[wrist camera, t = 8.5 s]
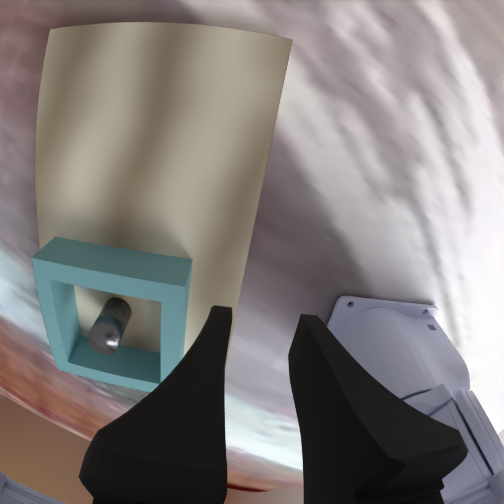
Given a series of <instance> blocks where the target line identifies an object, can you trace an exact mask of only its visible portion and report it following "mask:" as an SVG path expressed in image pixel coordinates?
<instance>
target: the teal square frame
mask: <svg viewBox="0 0 504 504" xmlns="http://www.w3.org/2000/svg"><path fill="white" fill-rule="evenodd" d="M192 262H193V260H192V259H186V258H179V257H173V256H167V255H161V254H154V253H148V252H142V251H136V250H130V249H124V248H118V247H112V246H106V245H100V244H94V243H88V242H82V241H76V240H70V239H65V238H59V237H54V238H53V239H52V240H51V241H50V242H48V243H47V244H46V245H45V246H44V247H43V248H42V249H41V250H40V251H38V252H37V253H36V254H35V255H34V256H33V257H32V264H33V271H34V277H35V282H36V288H37V293H38V298H39V302H40V307H41V311H42V316H43V320H44V324H45V328H46V332H47V336H48V339H49V343H50V347H51V350H52V353H53V357H54V360H55V363H56V366H57V369H58V370H62V371H65V372H68V373H72V374H75V375H79V376H82V377H86V378H89V379H93V380H97V381H101V382H105V383H109V384H113V385H117V386H122V387H126V388H131V389H135V390H140V391H145V392H150V393H151V392H152V391H153V390H154V389H155V388H156V387H157V386H158V385H159V384H160V383H161V382H162V381H163V380H164V379H165V378H166V377H167V376H168V375H169V374H170V373H171V371H172V370H173V369H174V368H175V367H176V366H177V365H178V363H179V362H180V361H181V360H182V358H183V357H184V346H185V333H186V321H187V310H188V300H189V289H190V280H191V270H192ZM74 285H77V286H81V287H86V288H91V289H96V290H101V291H106V292H111V293H116V294H121V295H126V296H131V297H137V298H142V299H148V300H153V301H159V302H162V306H161V353H158V352H153V351H148V350H143V349H137V348H132V347H128V346H123V345H119V346H118V348H117V350H116V352H115V353H114V354H111V355H105V354H101V353H99V352H97V351H95V350H94V349H93V348H92V347H91V346H90V344H89V343H88V340H87V337H84V336H82V334H81V328H80V323H79V317H78V310H77V304H76V297H75V289H74Z"/></svg>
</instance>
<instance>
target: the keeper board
mask: <svg viewBox="0 0 504 504" xmlns="http://www.w3.org/2000/svg"><path fill="white" fill-rule="evenodd" d="M292 41H293V40H292V39H288V38H284V37H279V36H274V35H269V34H264V33H258V32H253V31H246V30H240V29H233V28H226V27H218V26H208V25H198V24H185V23H165V22H121V23H102V24H89V25H79V26H70V27H62V28H55V29H50V33H49V38H48V42H47V47H46V52H45V58H44V64H43V70H42V77H41V84H40V92H39V101H38V111H37V124H36V143H35V194H36V213H37V226H38V237H39V246H40V250H41V249H42V248H43V247H44V246H45V245H46V244H47V243H48V242H50V241H51V240H52V239H53V238H54V237H59V238H65V239H70V240H76V241H82V242H88V243H94V244H100V245H106V246H112V247H118V248H124V249H130V250H136V251H142V252H148V253H154V254H161V255H167V256H173V257H179V258H186V259H192V260H193V262H192V270H191V280H190V289H189V300H188V310H187V321H186V333H185V346H184V356H185V354H186V353H187V351H188V350H189V349H190V347H191V346H192V344H193V343H194V341H195V340H196V338H197V336H198V335H199V333H200V331H201V330H202V328H203V326H204V324H205V322H206V320H207V318H208V316H209V313H210V310H211V307H213V306H214V305H217V306H225V307H232V326H231V332H230V338H229V345H228V351H229V346H230V341H231V336H232V331H233V326H234V321H235V316H236V311H237V306H238V302H239V297H240V292H241V287H242V282H243V277H244V272H245V267H246V262H247V257H248V253H249V248H250V243H251V238H252V233H253V228H254V223H255V218H256V214H257V209H258V204H259V199H260V194H261V189H262V184H263V180H264V175H265V170H266V165H267V160H268V155H269V151H270V146H271V141H272V136H273V131H274V127H275V122H276V117H277V112H278V107H279V103H280V98H281V93H282V88H283V84H284V79H285V74H286V69H287V64H288V60H289V55H290V50H291V45H292ZM74 289H75V297H76V304H77V310H78V317H79V323H80V328H81V334H82V336H84V337H87V336H88V334H89V332H90V330H91V328H92V326H93V324H94V323H95V321H96V319H97V317H98V315H99V314H100V312H101V310H102V308H103V306H104V305H105V303H106V301H107V300H108V299H110V298H113V297H117V298H121V299H123V300H124V301H126V302H127V303H128V304H129V306H130V307H131V310H132V315H131V317H130V320H129V322H128V324H127V327H126V329H125V331H124V334H123V336H122V338H121V341H120V343H119V345H123V346H128V347H132V348H137V349H143V350H148V351H153V352H158V353H161V306H162V302H159V301H153V300H148V299H142V298H137V297H131V296H126V295H121V294H116V293H111V292H106V291H101V290H96V289H91V288H86V287H81V286H77V285H74ZM228 351H227V356H228ZM226 361H227V358H226ZM225 366H226V364H225Z"/></svg>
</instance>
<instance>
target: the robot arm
mask: <svg viewBox="0 0 504 504" xmlns="http://www.w3.org/2000/svg"><path fill="white" fill-rule="evenodd" d="M349 302H352V303H351V304H349V305H348V303H349ZM423 310H424V311H423ZM437 313H438V308H437V307H436V306H435V305H427V304H417V303H407V302H398V301H388V300H379V299H370V298H362V297H353V296H341V297H340V298H338V300H337V302H336V305H335V307H334V310H333V312H332V315H331V317H330V320H329V322H328V325H327V327H326V325H325V324H324V323H323V322H322V321H321V319H320V318H319V317H318V316H317V315H304V314H301V316H300V319H299V322H298V326H297V329H296V332H295V335H294V338H293V341H292V345H291V348H290V351H289V354H288V360H289V376H290V383H291V388H292V393H293V398H294V403H295V408H296V413H297V418H298V422H299V427H300V434H301V443H302V457H303V478H304V504H504V447H503V445H502V443H501V441H500V439H499V437H498V435H497V433H496V431H495V429H494V428H493V426H492V424H491V422H490V420H489V418H488V417H487V415H486V413H485V411H484V410H483V408H482V406H481V404H480V403H479V401H478V399H477V397H476V396H475V394H474V392H473V391H472V390H470V378H469V372H468V368H467V366H466V364H465V362H464V360H463V358H462V357H461V355H460V354H459V353H458V351H457V350H456V348H455V347H454V345H453V344H452V342H451V341H450V340H449V338H448V337H447V335H446V334H445V332H444V331H443V330H442V328H441V327H440V325H439V324H438V323H437V321H436V320H435V319H434V318H435V317H436V315H437ZM231 326H232V307H225V306H217V305H214V306H213V307H211V310H210V313H209V316H208V318H207V320H206V322H205V324H204V326H203V328H202V330H201V331H200V333H199V335H198V336H197V338H196V340H195V341H194V343H193V344H192V346H191V347H190V349H189V350H188V351H187V353H186V354H185V356H184V357H183V358H182V360H181V361H180V362H179V363H178V365H177V366H176V367H175V368H174V369H173V370H172V371H171V373H170V374H169V375H168V376H167V377H166V378H165V379H164V380H163V381H162V382H161V383H160V384H159V385H158V386H157V387H156V388H155V389H154V390H153V391H152V392H151V393H150V394H148V395H147V396H146V397H145V398H144V399H142V400H141V401H140V402H139V403H137V404H136V405H135V406H134V407H132V408H131V409H130V410H129V411H127V412H126V413H124V414H123V415H122V416H120V417H119V418H117V419H115V420H114V421H112V422H111V423H109V424H108V425H106V426H104V427H103V428H101V429H100V430H98V432H97V433H96V435H95V436H94V438H93V440H92V441H91V444H90V446H89V447H88V449H87V451H86V454H85V456H84V460H83V463H82V467H81V470H80V474H79V478H80V481H81V482H82V484H83V485H84V486H85V487H86V489H87V490H88V491H89V492H90V493H91V495H92V496H93V497H94V499H93V503H92V504H223V503H224V501H225V498H226V495H227V460H226V442H225V408H224V381H225V364H226V358H227V351H228V345H229V338H230V332H231ZM0 504H67V503H64V502H61V501H59V500H56V499H54V498H51V497H49V496H46V495H44V494H41V493H39V492H36V491H34V490H32V489H30V488H28V487H25V486H23V485H21V484H19V483H17V482H15V481H13V480H11V479H9V478H7V477H6V476H5V474H4V473H3V472H2V471H1V470H0Z"/></svg>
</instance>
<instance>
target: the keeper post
mask: <svg viewBox="0 0 504 504" xmlns="http://www.w3.org/2000/svg"><path fill="white" fill-rule="evenodd" d="M131 315H132V310H131V307H130V306H129V304H128V303H127V302H126V301H124V300H123V299H121V298H117V297H113V298H110V299H108V300H107V301H106V303H105V305H104V306H103V308H102V310H101V312H100V314H99V315H98V317H97V319H96V321H95V323H94V324H93V326H92V328H91V330H90V332H89V334H88V336H87V340H88V343H89V344H90V346H91V347H92V348H93V349H94V350H95V351H97V352H99V353H101V354H105V355H111V354H114V353H115V352H116V350H117V348H118V346H119V343H120V341H121V338H122V336H123V334H124V331H125V329H126V327H127V324H128V322H129V320H130V317H131Z"/></svg>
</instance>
